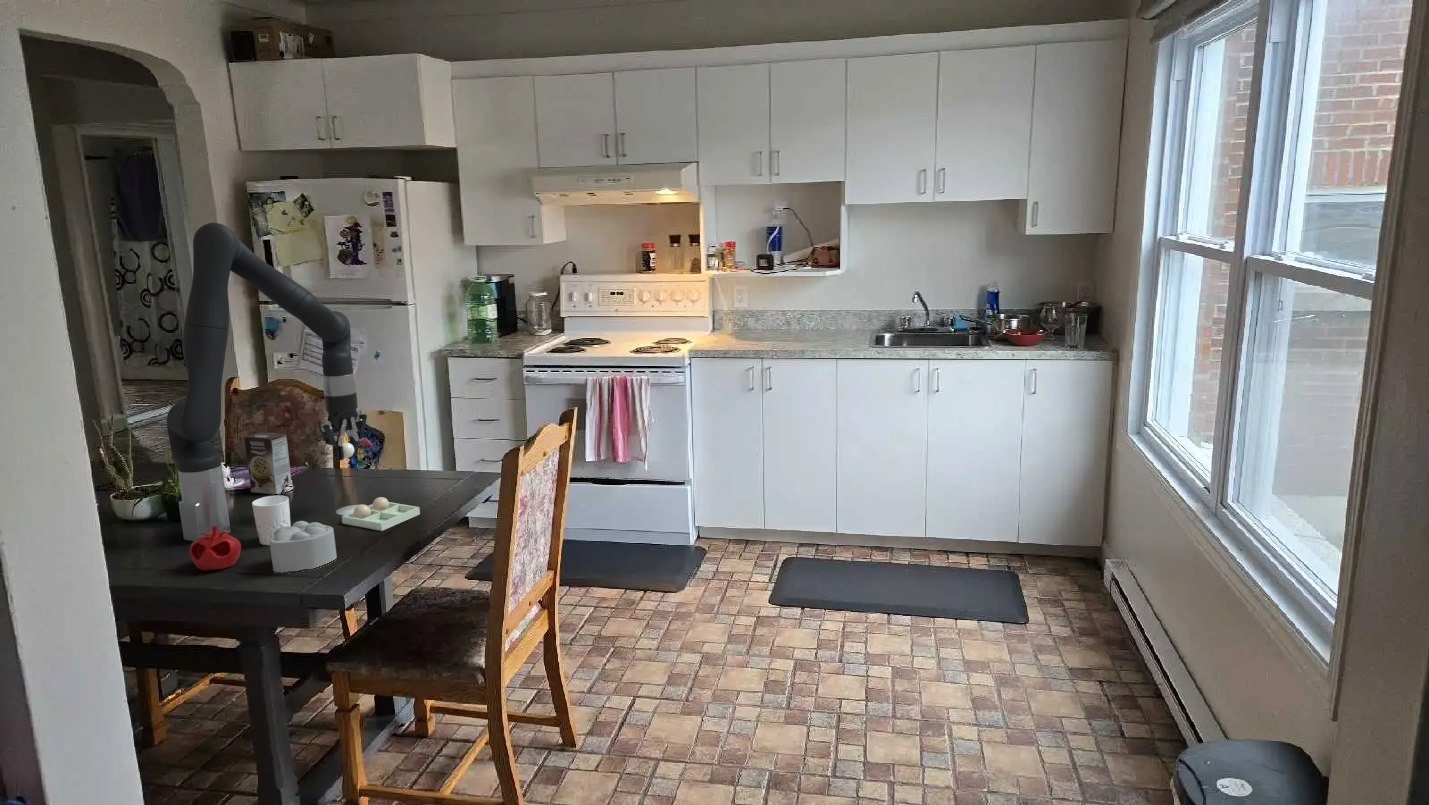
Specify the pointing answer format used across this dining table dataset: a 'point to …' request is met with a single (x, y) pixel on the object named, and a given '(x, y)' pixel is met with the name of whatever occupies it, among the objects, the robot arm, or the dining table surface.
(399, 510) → the tray
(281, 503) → the white cup
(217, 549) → the red tomato lantern
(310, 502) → the dining table surface
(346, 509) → the saucer
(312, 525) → the lumpy-topped squat cylinder
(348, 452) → the egg
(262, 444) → the coffee box
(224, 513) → the robot arm
